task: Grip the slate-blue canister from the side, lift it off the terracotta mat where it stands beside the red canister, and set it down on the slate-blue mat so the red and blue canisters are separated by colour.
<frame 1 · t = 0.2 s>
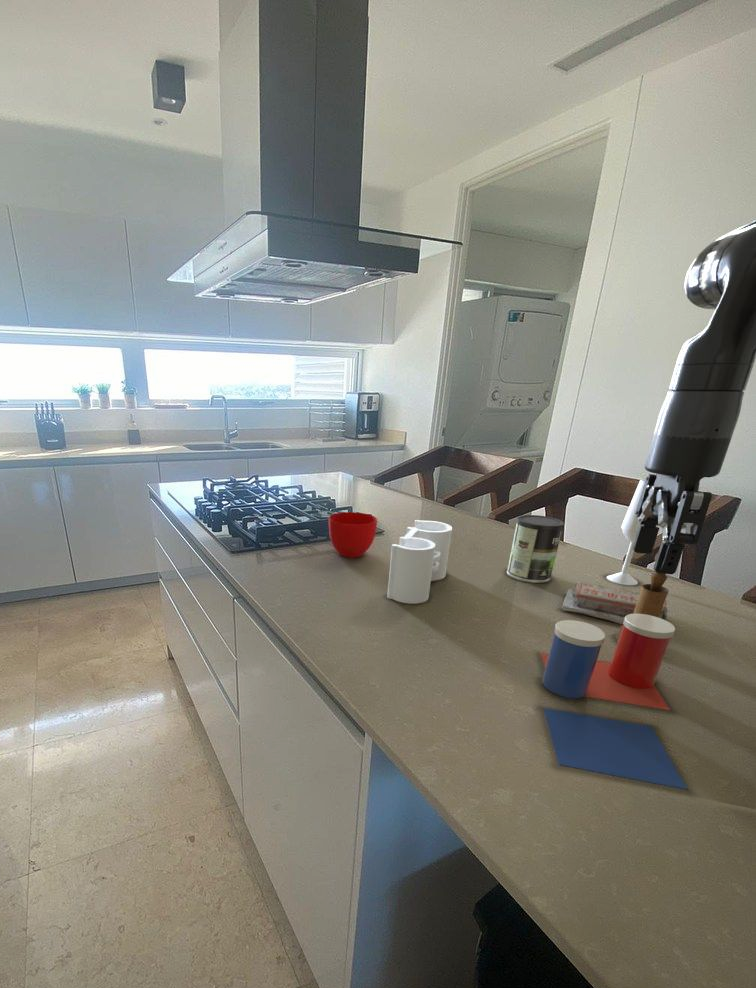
hand: (651, 562, 64), 22 cm above the worktop, tool pointing down, fingers open, 8 cm apart
packaged product: (610, 613, 102), on the worktop
coffee can: (527, 576, 121), on the worktop
blue mat: (607, 746, 64), on the worktop
ceramic cup: (353, 552, 135), on the worktop
champagne flute: (621, 580, 119), on the worktop
blue canister: (564, 686, 76), resting on terracotta mat
mortar and pestle: (636, 643, 90), on the worktop
terracotta mat: (599, 680, 78), on the worktop
red canister: (630, 677, 79), resting on terracotta mat
bracket: (418, 584, 115), on the worktop
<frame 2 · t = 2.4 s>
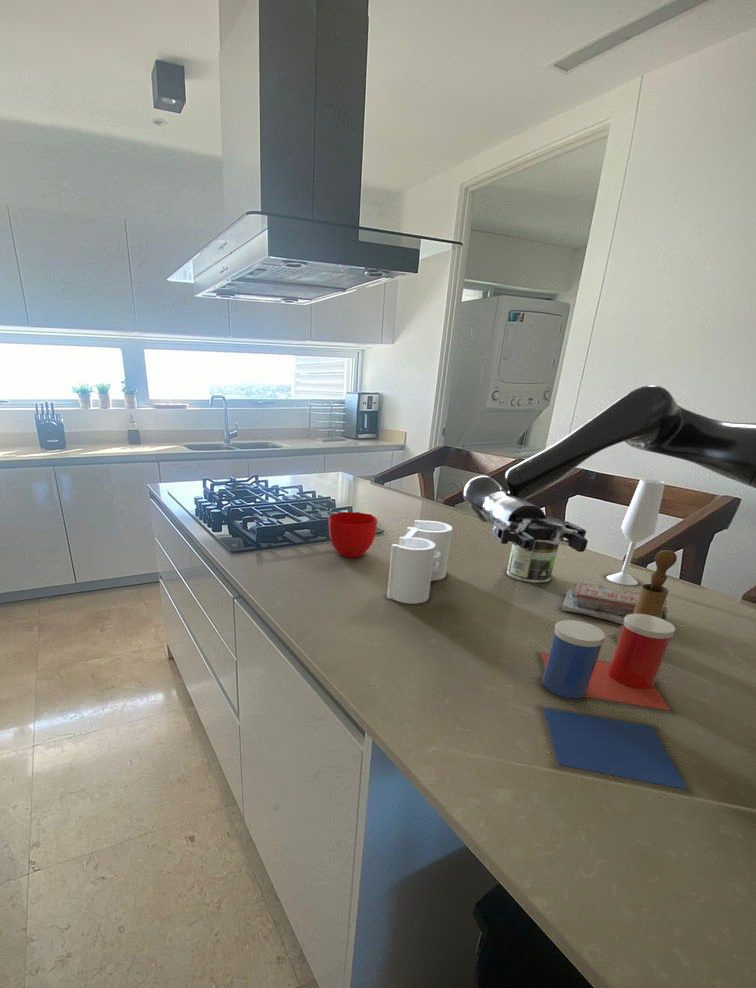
hand: (557, 545, 78), 20 cm above the worktop, tool horizontal, fingers open, 8 cm apart
nothing on the worktop moved.
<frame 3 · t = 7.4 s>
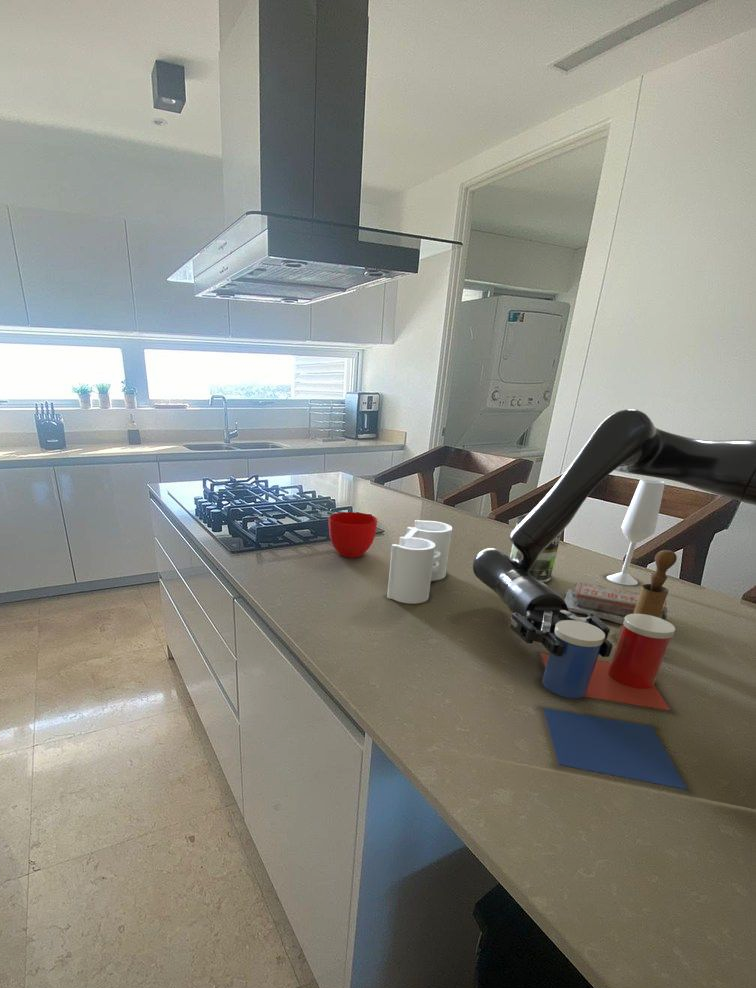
hand: (584, 651, 71), 8 cm above the worktop, tool horizontal, fingers closed on blue canister, 6 cm apart
blue canister: (564, 686, 76), resting on terracotta mat, touching gripper
everything else where it was.
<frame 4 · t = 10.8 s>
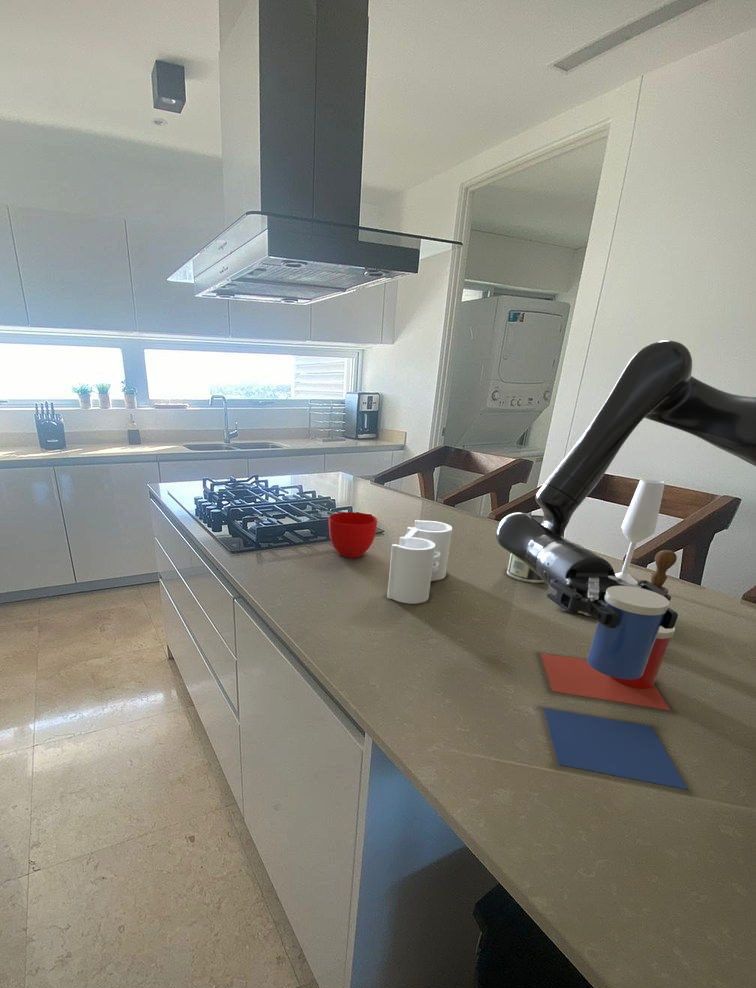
hand: (643, 621, 58), 18 cm above the worktop, tool horizontal, fingers closed on blue canister, 6 cm apart
blue canister: (614, 665, 63), point 10 cm above the worktop, touching gripper
everything else where it was.
when the fingers open (8 cm above the worktop, at t = 14.5 s): blue canister stays where it is, resting on blue mat.
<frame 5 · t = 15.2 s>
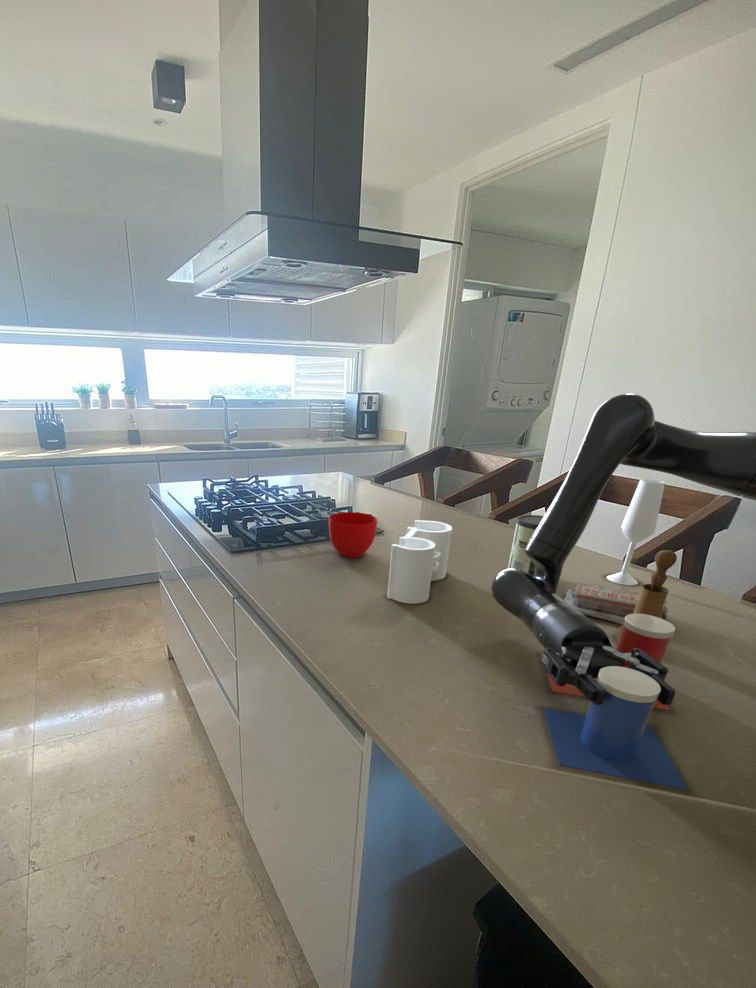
hand: (636, 699, 59), 9 cm above the worktop, tool horizontal, fingers open, 8 cm apart
blue canister: (606, 743, 64), resting on blue mat
everything else where it was.
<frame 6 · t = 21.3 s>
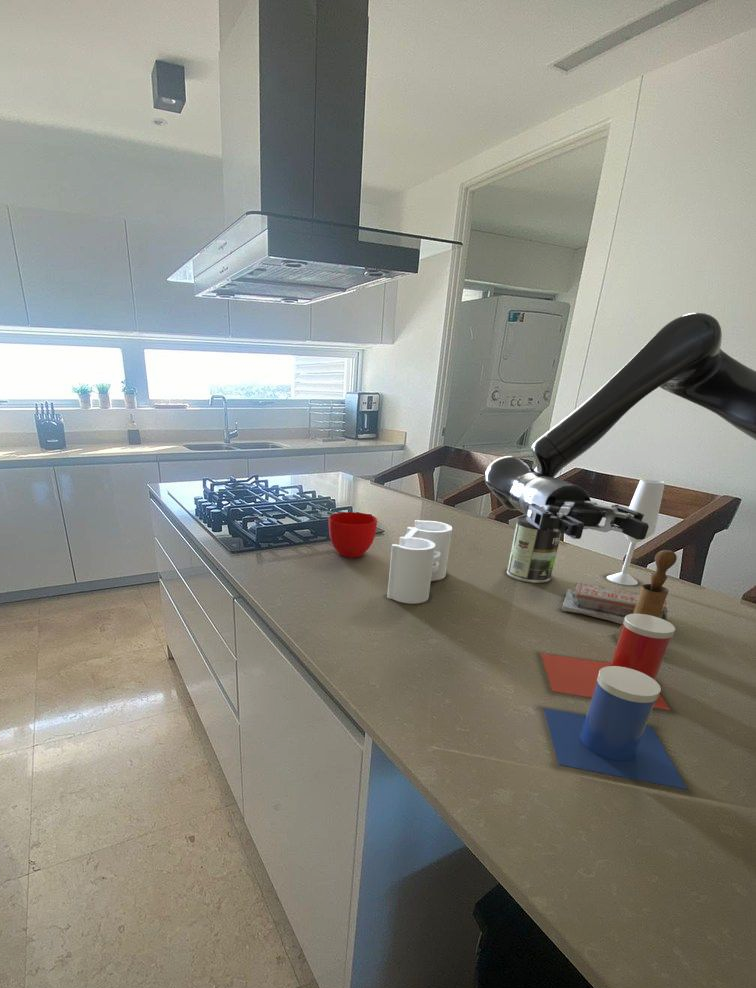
hand: (612, 532, 64), 26 cm above the worktop, tool horizontal, fingers open, 8 cm apart
nothing on the worktop moved.
at the end: blue canister inside the target area (0.1 cm from its centre), resting on blue mat; blue canister tilted 0°; red canister moved 0.0 cm from its start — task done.
